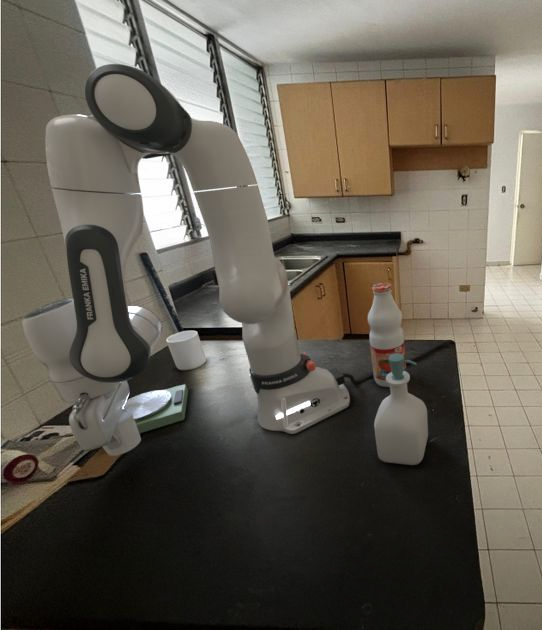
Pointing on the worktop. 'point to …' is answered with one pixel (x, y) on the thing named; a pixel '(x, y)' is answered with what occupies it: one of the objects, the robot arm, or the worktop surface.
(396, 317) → the fruit juice
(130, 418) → the white cylindrical container
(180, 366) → the cup
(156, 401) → the scale pan
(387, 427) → the soap bottle
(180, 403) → the scale
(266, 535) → the worktop surface
